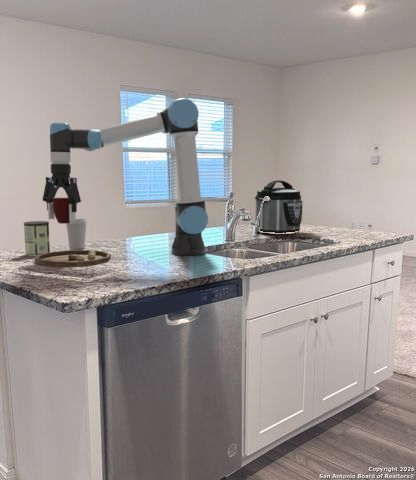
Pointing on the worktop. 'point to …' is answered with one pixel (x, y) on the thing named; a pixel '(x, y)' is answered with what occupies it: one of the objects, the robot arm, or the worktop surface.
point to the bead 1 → (80, 258)
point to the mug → (61, 209)
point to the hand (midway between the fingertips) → (61, 219)
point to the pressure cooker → (279, 208)
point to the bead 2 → (91, 256)
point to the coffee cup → (76, 233)
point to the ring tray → (71, 258)
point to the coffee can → (36, 237)
